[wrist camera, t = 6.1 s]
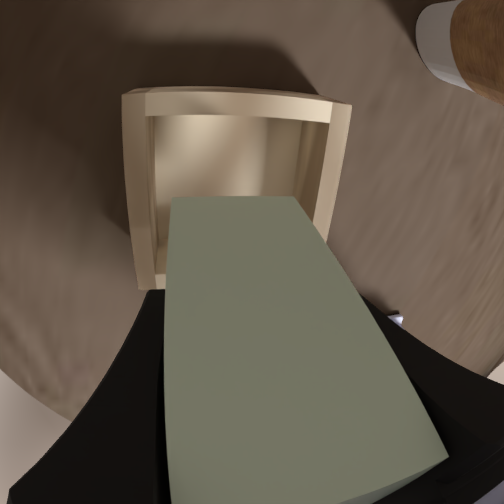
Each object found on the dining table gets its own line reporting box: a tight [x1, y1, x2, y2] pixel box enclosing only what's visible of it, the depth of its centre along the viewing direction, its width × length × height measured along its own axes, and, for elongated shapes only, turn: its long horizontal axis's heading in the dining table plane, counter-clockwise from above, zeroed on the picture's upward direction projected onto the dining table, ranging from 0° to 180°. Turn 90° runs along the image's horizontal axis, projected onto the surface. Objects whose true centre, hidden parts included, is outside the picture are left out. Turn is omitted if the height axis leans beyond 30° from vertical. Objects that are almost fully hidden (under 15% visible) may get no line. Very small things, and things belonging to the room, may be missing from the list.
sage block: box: [164, 196, 449, 504], centre depth 9 cm, size 4×4×10 cm
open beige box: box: [122, 86, 352, 290], centre depth 16 cm, size 10×10×4 cm
